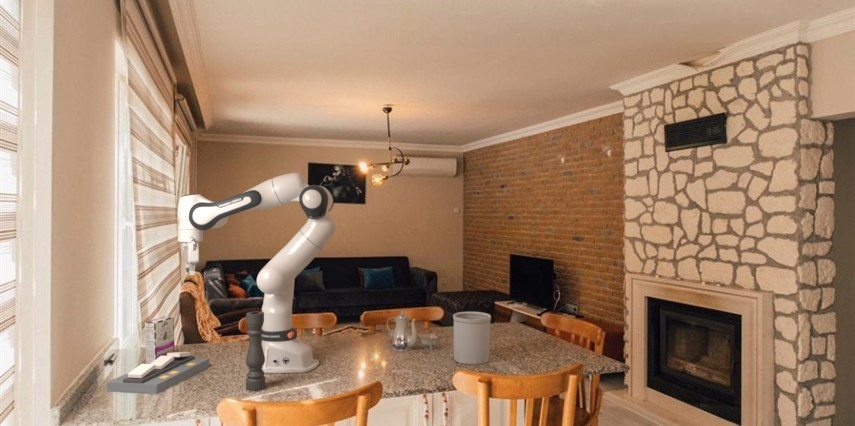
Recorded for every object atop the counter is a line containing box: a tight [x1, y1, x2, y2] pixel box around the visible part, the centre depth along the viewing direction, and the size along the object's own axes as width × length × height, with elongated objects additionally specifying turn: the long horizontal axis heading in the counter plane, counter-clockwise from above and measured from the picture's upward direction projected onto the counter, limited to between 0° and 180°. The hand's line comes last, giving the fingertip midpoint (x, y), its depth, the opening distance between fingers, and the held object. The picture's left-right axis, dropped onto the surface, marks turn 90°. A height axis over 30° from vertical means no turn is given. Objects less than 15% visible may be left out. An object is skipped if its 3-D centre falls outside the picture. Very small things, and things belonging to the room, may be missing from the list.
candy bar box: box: [144, 316, 176, 364], centre depth 212 cm, size 11×5×16 cm, turn 168°
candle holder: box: [245, 310, 266, 392], centre depth 179 cm, size 6×6×25 cm
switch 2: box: [150, 356, 174, 369], centre depth 190 cm, size 5×7×1 cm
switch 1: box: [128, 363, 156, 378], centre depth 180 cm, size 5×7×1 cm
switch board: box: [106, 355, 210, 395], centre depth 190 cm, size 18×30×4 cm, turn 171°
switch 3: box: [167, 351, 192, 357], centre depth 200 cm, size 5×7×1 cm
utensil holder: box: [452, 311, 492, 365], centre depth 211 cm, size 15×15×18 cm
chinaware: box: [385, 310, 440, 352], centre depth 231 cm, size 28×17×17 cm, turn 58°
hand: (190, 273), depth 204 cm, fingers open, 8 cm apart
